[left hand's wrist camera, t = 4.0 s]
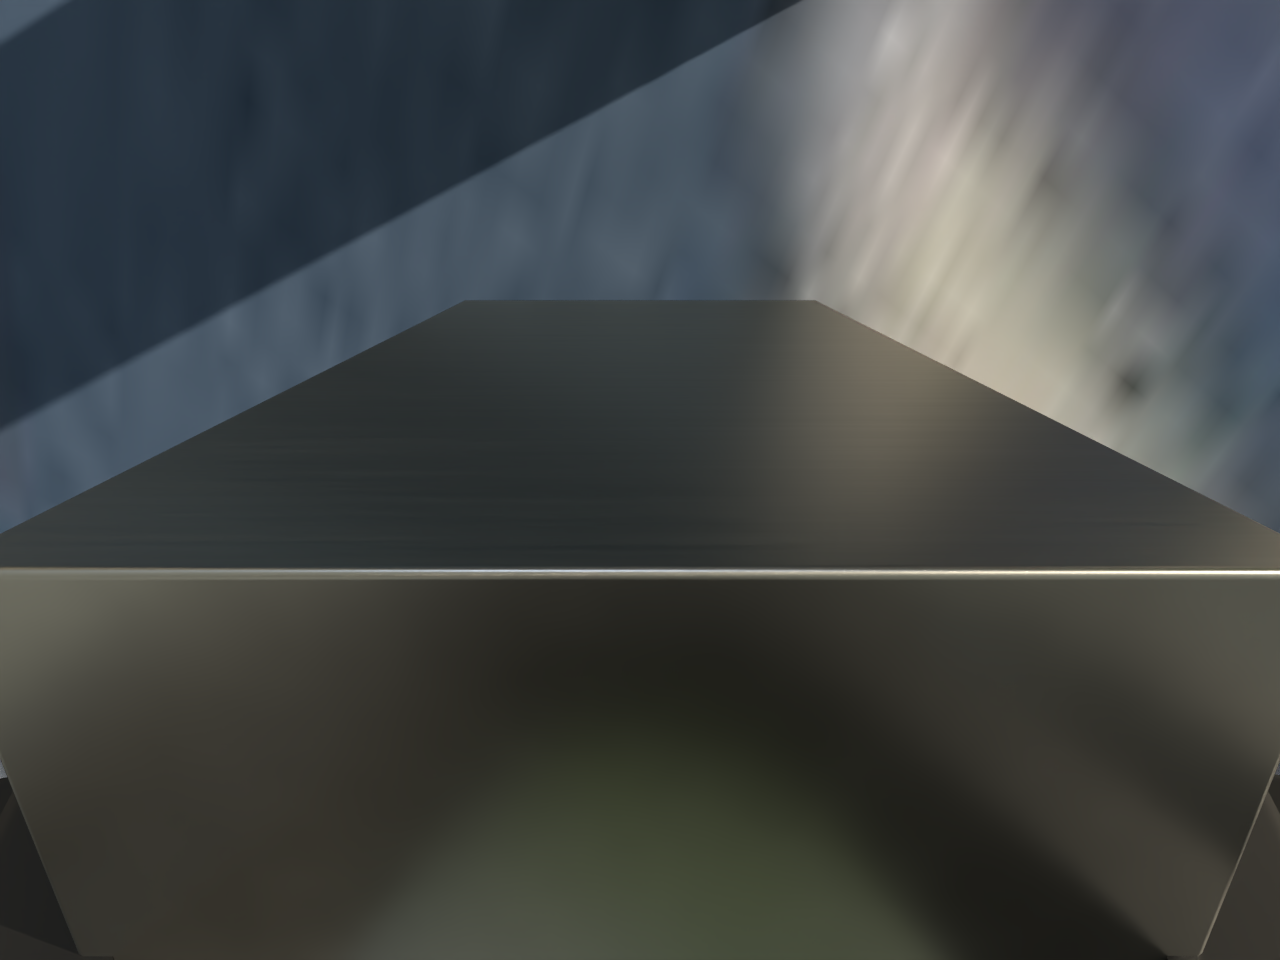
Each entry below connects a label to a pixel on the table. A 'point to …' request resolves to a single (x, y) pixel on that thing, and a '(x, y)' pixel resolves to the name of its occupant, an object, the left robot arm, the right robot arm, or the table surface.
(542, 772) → the box
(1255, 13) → the table surface
